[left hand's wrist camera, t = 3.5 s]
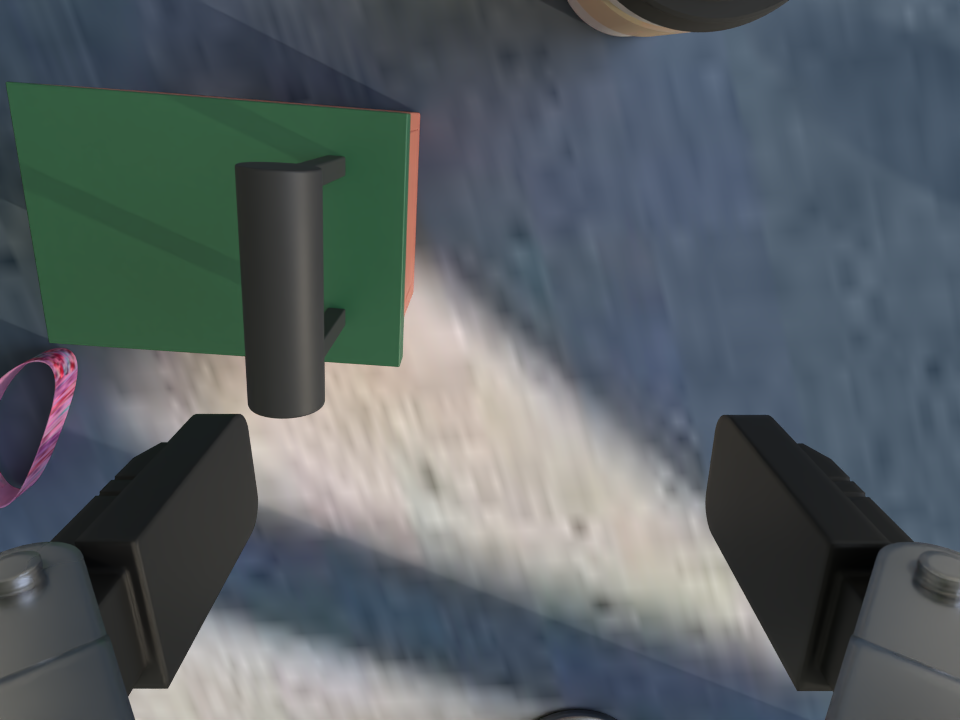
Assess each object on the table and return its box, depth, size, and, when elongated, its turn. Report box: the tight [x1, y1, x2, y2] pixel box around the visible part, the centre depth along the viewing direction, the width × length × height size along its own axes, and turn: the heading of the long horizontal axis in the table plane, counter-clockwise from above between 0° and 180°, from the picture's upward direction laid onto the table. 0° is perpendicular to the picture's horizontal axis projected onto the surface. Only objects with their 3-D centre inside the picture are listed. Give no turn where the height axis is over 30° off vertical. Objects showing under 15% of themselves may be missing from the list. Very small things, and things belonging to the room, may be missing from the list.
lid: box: [6, 82, 411, 419], centre depth 21 cm, size 14×10×9 cm
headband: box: [0, 348, 77, 508], centre depth 39 cm, size 11×4×2 cm, turn 151°
